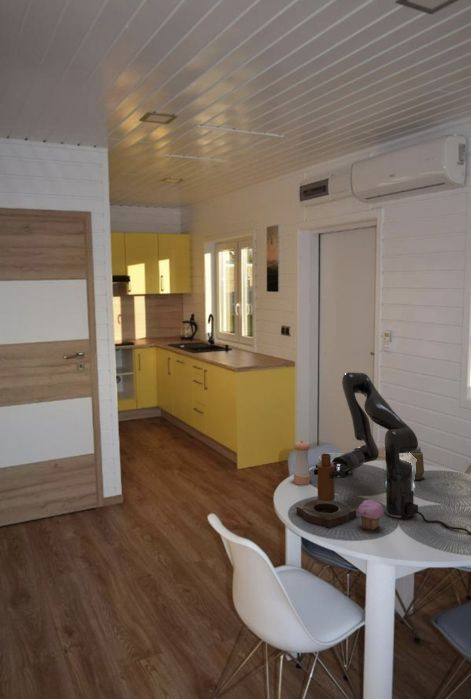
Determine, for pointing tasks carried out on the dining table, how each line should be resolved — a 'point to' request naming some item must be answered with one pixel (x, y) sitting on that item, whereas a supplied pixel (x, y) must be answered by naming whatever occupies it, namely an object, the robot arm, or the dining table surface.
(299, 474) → the pepper shaker
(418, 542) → the dining table surface
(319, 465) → the bottle
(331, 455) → the cereal bowl
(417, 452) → the squeeze bottle
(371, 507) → the cupcake
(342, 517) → the board
